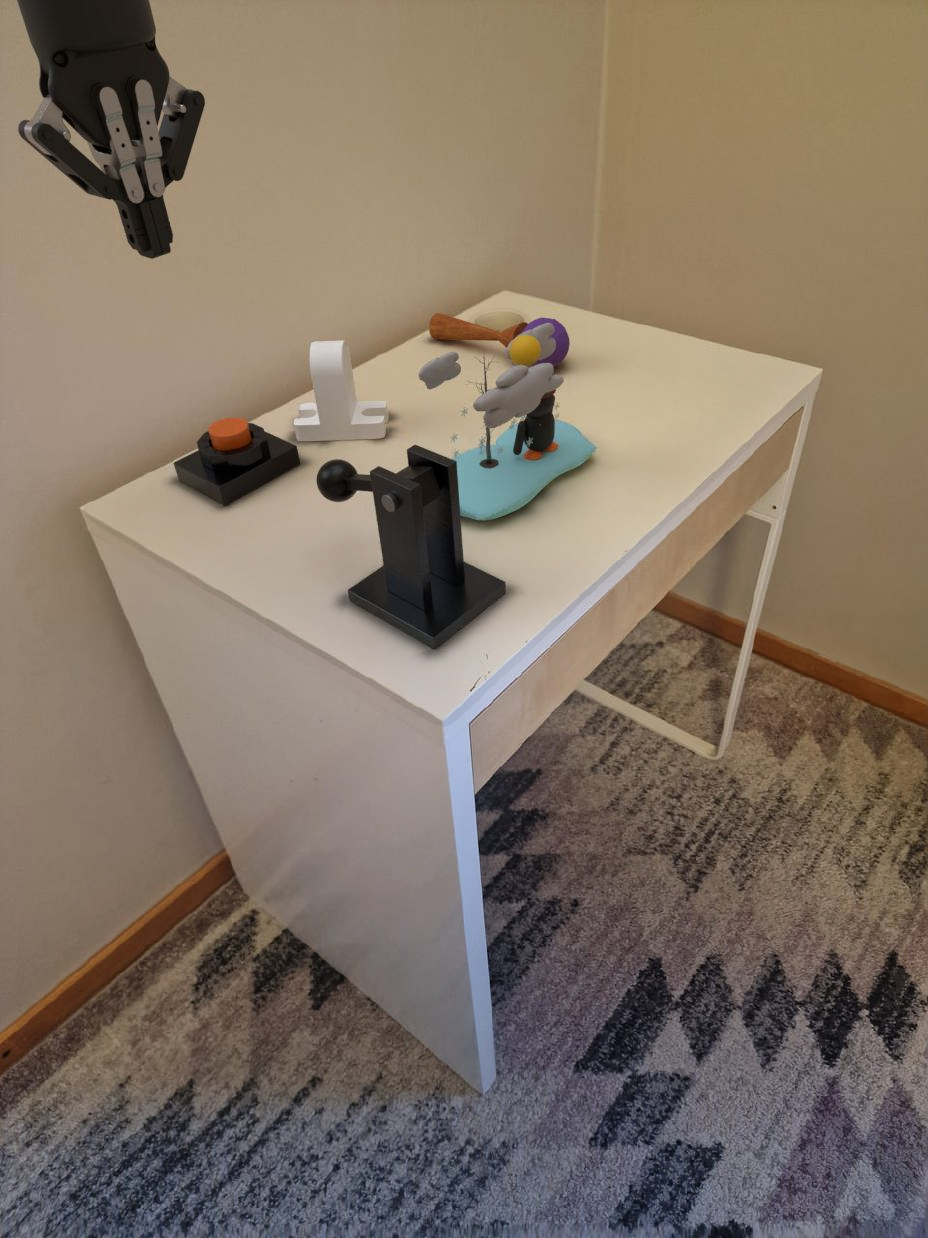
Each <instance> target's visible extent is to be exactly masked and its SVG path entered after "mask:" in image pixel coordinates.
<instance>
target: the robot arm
mask: <svg viewBox="0 0 928 1238" xmlns="http://www.w3.org/2000/svg"><path fill="white" fill-rule="evenodd" d="M16 2H17V5H18V8H19V11H20V15H21V17H22V19H23V23H24V27H25V30H26V33H27V36H28V38H29V42H30V44H31V46H32V49H33V51H34V53H35V55H36V59H37V60H38V63H39V80H38V87H39V88H38V89H39V92H40V94H41V97H42V98H43V99H42V101H40V104H39V106H38V107H37V109H36V111H35V113H34V114H33V117H32V118H31V120H30V119H23V120H21V121H20V122H19V124H18V127H17V130H18V131H17V132H18V134H19V136H20V137H21V139H22V140H23V141H25V142H26V143H27V144H28V145H29V146H30V147H32V148H33V149H34V150H35V151H36V152H38V153H39V154H40V155H41V156H42V157H43V158H44V159H46V160H47V161H48V162H49V163H51V165H53V166H54V167H55V168H57V169H58V170H59V171H60V172H61V173H62V174H63V175H65V176H66V177H67V178H68V179H69V180H71V182H73V183H74V184H75V185H77V187H79V188H80V189H81V191H83V192H85V193H86V194H88V195H90V196H93V197H98V198H102V199H106V200H110V201H111V200H112V201H113V202H114V203H115V205H116V207H117V209H118V214H119V217H120V220H121V224H122V227H123V230H124V233H125V237H126V240H127V243H128V245H129V246H130V247H131V249H132V250H135V251H137V253H138V254H139V255H140V256H142V257H143V258H144V257H145V258H147V259H151V260H153V259H156V258H159V257H162V256H165V255H167V254H170V253H171V252H172V248H171V244H172V243H173V242H174V233H173V229H172V226H171V221H170V217H169V213H168V210H167V208H166V207H167V206H166V204H165V199H164V194H165V192H166V188H167V187H169V185H171V183H172V184H173V182H180V181H182V179H183V178H184V175H185V172H186V170H187V169H186V168H187V166H188V162H189V159H190V155H191V152H192V149H193V146H194V142H195V139H196V136H197V132H198V129H199V126H200V122H201V119H202V116H203V113H204V110H205V106H206V98H205V96H204V94H203V93H202V92H201V91H199V90H193V89H189V88H187V87H185V86H184V85H182V84H181V83H179V82H178V81H177V80H175V78H173V77H171V76H170V70H169V67H168V64H167V62H166V61H165V59H164V58H163V56H162V55H161V54H160V51H159V49H158V46H157V43H156V33H157V28H156V27H157V26H156V23H155V19H154V15H153V11H152V7H151V3H150V0H16ZM162 112H163V116H162V119H161V121H160V118H161V115H162ZM64 121H65V122H66V123H67V124H68V125H69V126H70V127H71V128H72V129H73V130H74V131H75V132H76V133H77V134H78V135H79V136H80V137H82V139H84V140H85V141H86V142H87V145H88V148H89V150H90V153H91V156H92V158H93V160H94V161H95V162H96V163H97V165H98V166H99V167H98V166H97V165H96V164H95V163H94V162H93V161H91V160H90V158H88V157H87V156H86V155H85V154H84V153H82V152H81V151H80V150H79V149H78V148H77V147H76V146H75V145H74V144H73V143H71V139H72V135H71V131H70V130H69V127H68V126H66V124H65V122H64ZM159 122H160V125H159ZM158 126H159V128H158Z"/></svg>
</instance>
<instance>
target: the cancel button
mask: <svg viewBox="0 0 928 1238" xmlns="http://www.w3.org/2000/svg"><path fill="white" fill-rule="evenodd" d="M248 423H249V422H248V420H246V419H244V418H241V417H226V418H222V419H220V420H216V421H215V422H213V423H211V425H209V427H208V431H209V435H210V438H211V442H212V445H213V447H214V448H215V449H216V450H232V449H237V448H241V447H243V446H245V445H247V444H249V443H250V442H251V439H252V438H251V433H250V429H249V425H248Z"/></svg>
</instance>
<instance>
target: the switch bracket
mask: <svg viewBox="0 0 928 1238" xmlns="http://www.w3.org/2000/svg"><path fill="white" fill-rule="evenodd" d="M406 455H407V456H406V457H407V466H424V467H433V470H434V473H435V476H436V479H437V482H438V485H439V488H440V491H441V496H440V497H438V498H437V499H435V500H434V501H432V502H431V503H429V504H428V505H426V506H425V507H423V505H422V495H421V486H420V484H419V483H416V482H414V481H412V480H409V479H407V478H405V477H403V476H400V475H398V474H396V473H397V472H396V473H395V472H393V471H391V470H389V469H386V468H384V467H383V466H380V465H378V466H376V467H375V468H373V469H371V470H370V471H369V475H370V477H371V484H372V490H373V492H372V495H373V496H372V497H373V503H374V511H375V518H376V523H377V530H378V536H379V544H380V551H381V558H382V563H383V564H382V566H379V568H377V569H376V570H374V571H373V572H372V573H370V574H369V575H367V576H366V577H364V578H363V579H361V580H359V581H358V582H357V583H355V584H354V585H353V586H351V587H350V588H348V589H347V595H348V600H349V601H350V602H351V603H353V604H355V605H357V606H358V607H360V608H362V609H364V610H365V611H367V612H369V613H370V614H372V615H373V616H376V617H377V618H379V619H381V620H382V621H384V622H386V623H388V624H390V625H391V626H393V627H394V628H397V629H398V630H399V631H402V632H403V633H405V634H407V635H409V636H410V637H412V638H414V639H416V640H417V641H419V642H421V643H423V644H424V645H426V646H428V647H430V648H432V649H433V650H436V649H437V648H438V647H440V646H441V645H442V644H444V643H445V642H446V641H447V640H448V639H449V638H452V636H453V635H454V634H456V633H457V632H459V631H460V630H461V629H462V628H464V627H465V626H466V625H468V624H469V623H470V622H471V621H472V620H473V619H475V618H476V617H477V616H479V615H480V614H481V613H482V612H484V611H485V610H486V609H487V608H488V607H490V606H491V605H493V604H494V603H495V602H496V601H498V600H499V599H500V598H501V597H502V596H503V595H505V594H506V592H507V584H506V583H507V582H506V581H505V580H503V579H501V578H498V577H497V576H495V575H492V574H490V573H488V572H486V571H485V570H482V569H480V568H478V567H476V566H474V565H472V564H470V563H468V562H465V561H464V560H465V559H464V549H463V548H464V547H463V546H464V545H463V531H462V519H461V518H462V516H460V503H459V488H458V474H457V462H456V461H455V460H452V458H449V457H447V456H445V455H443V454H440V453H438V452H435V451H432V450H430V449H428V448H425V447H423V446H420V445H418V444H413V445H412V446H410V447H408V448H407V449H406Z"/></svg>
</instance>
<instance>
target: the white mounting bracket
mask: <svg viewBox="0 0 928 1238" xmlns="http://www.w3.org/2000/svg"><path fill="white" fill-rule="evenodd" d="M350 351H351V350H350V348H349V344H348V342H347V340H346V339H343V340H342V339H341V340H319V341H312V342H311V343H310V347H309V370H310V371H309V372H310V378H311V384H312V389H313V393H314V400H315V402H304V403H301V404H300V405H299V407H298V415H299V417H297V418H294V421H293V428H294V432H295V437H296V440H297V442H327V441H353V440H354V441H357V440H381V439H383V438H385V437H386V434H387V426H386V424H387V423H389V420H390V417H389V408H388V402H387V401H386V400H366V401H363V400H362V401H358V398H357V397H358V396H357V392H356V391H357V390H356V385H355V377H354V372H353V366H352V365H353V364H352V358H351V352H350Z"/></svg>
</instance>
